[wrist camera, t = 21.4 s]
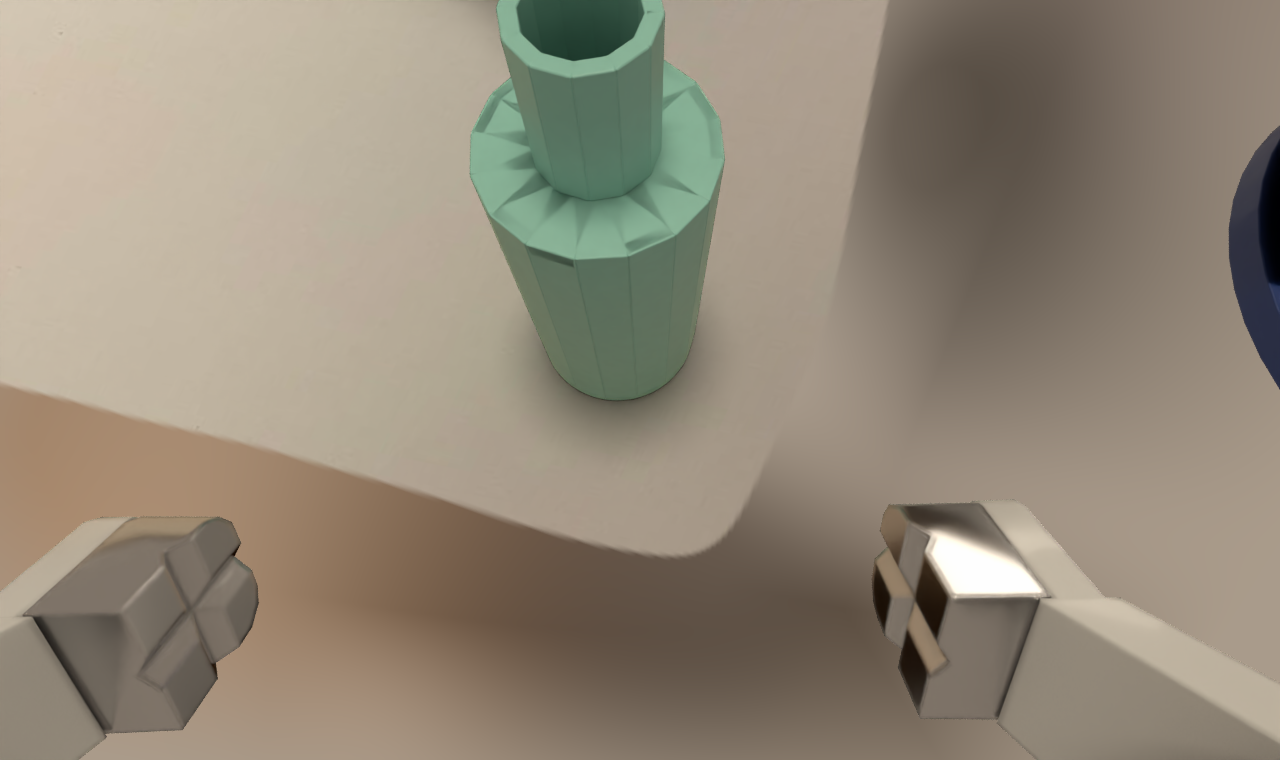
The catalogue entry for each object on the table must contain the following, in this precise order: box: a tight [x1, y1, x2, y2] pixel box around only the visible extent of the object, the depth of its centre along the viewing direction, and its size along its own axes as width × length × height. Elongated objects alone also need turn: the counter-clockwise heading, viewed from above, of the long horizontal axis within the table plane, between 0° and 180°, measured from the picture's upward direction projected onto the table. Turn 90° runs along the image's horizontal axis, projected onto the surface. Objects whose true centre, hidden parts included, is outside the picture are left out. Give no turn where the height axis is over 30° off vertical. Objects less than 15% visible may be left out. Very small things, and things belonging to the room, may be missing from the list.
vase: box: [470, 0, 725, 400], centre depth 20 cm, size 6×6×16 cm
